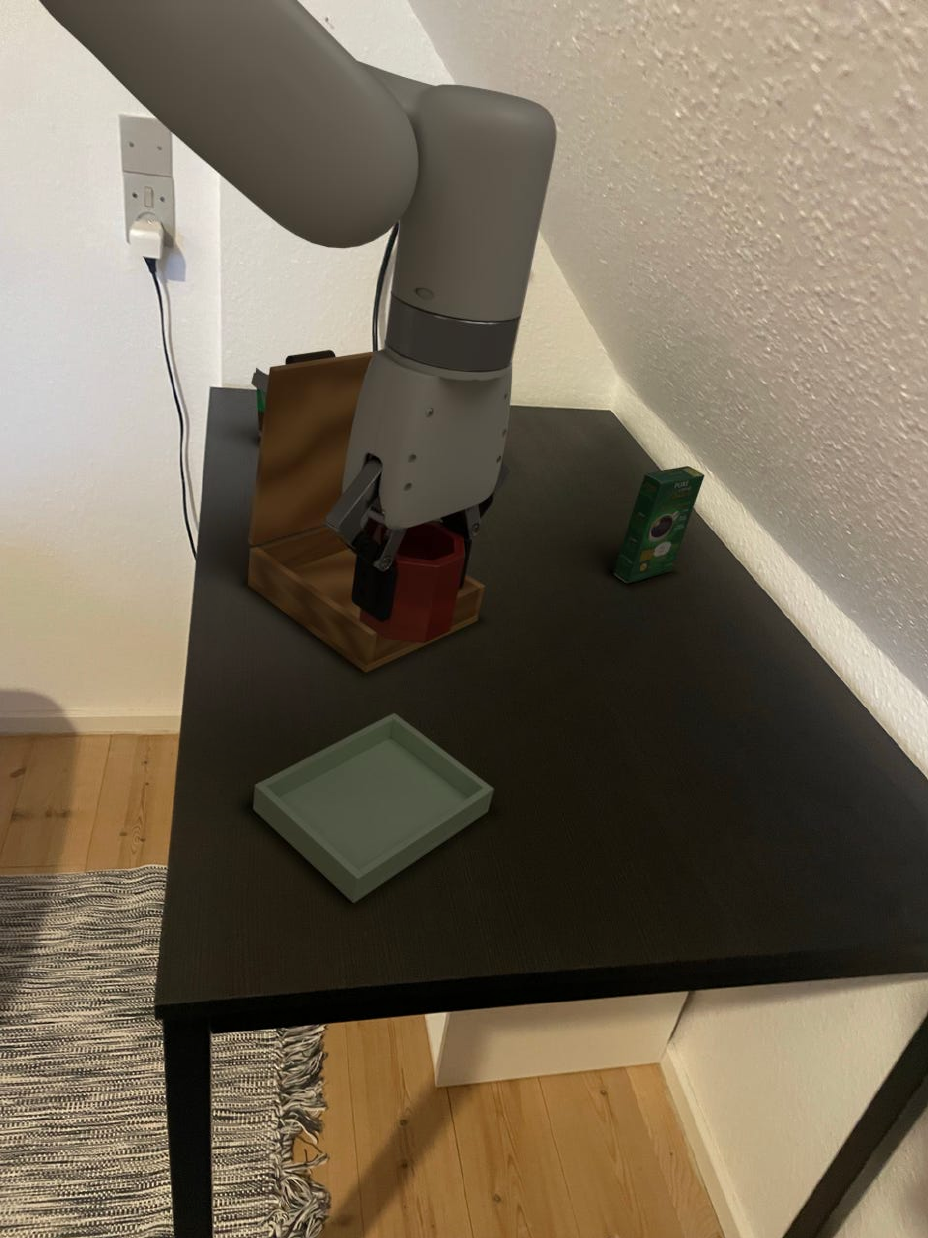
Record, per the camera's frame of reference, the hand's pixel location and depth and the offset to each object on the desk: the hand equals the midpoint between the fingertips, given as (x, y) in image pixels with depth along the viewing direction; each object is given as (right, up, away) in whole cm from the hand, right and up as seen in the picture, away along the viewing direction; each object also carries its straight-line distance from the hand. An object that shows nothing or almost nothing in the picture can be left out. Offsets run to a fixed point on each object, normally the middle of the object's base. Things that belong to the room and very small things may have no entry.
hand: (408, 593), depth 64 cm
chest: (-6, 0, +32) cm, 33 cm away
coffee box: (+25, +4, +48) cm, 54 cm away
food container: (-18, +20, +60) cm, 66 cm away
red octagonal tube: (0, -2, +1) cm, 2 cm away
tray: (-3, -16, +8) cm, 19 cm away
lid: (-10, +15, +28) cm, 34 cm away
